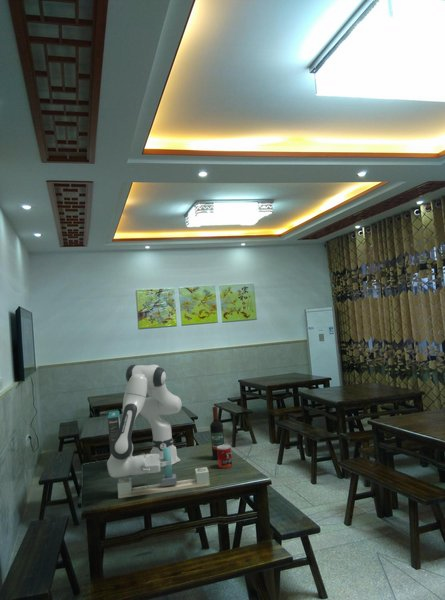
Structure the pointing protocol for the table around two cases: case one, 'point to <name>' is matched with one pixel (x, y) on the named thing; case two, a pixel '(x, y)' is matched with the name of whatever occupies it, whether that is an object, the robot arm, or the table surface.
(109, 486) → the table surface
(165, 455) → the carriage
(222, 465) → the canned food
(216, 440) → the wine bottle
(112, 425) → the cake mix box
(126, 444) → the robot arm
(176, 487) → the rail board
